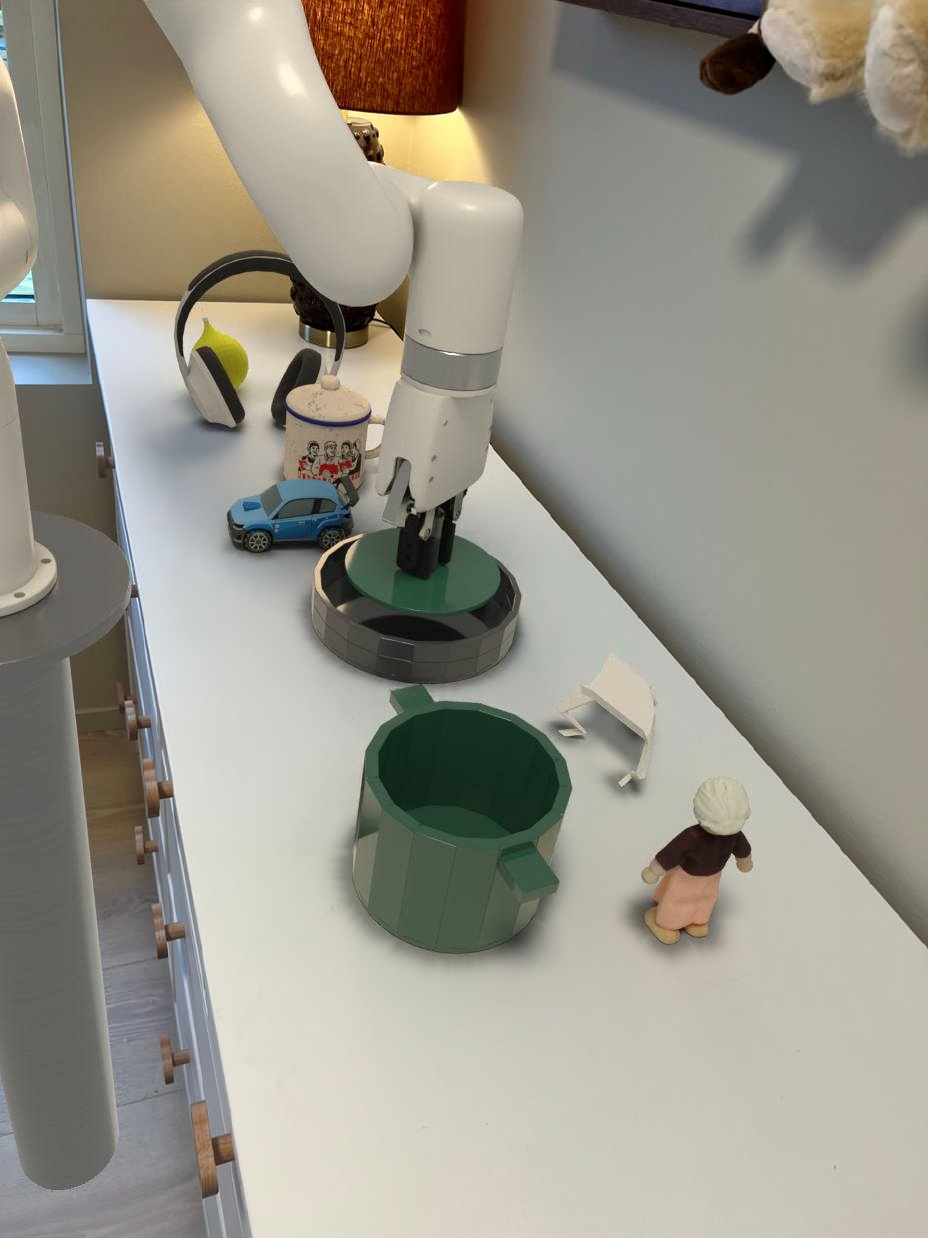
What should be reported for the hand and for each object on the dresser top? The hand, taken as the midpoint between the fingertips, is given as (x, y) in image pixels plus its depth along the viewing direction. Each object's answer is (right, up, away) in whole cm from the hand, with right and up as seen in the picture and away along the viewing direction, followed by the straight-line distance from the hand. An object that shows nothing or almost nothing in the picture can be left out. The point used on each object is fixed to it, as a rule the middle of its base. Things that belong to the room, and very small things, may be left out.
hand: (423, 562), depth 84 cm
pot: (+2, -22, -20) cm, 29 cm away
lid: (0, -1, 0) cm, 1 cm away
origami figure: (+15, -15, -7) cm, 22 cm away
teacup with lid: (-11, +11, +23) cm, 28 cm away
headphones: (-21, +18, +32) cm, 43 cm away
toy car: (-14, +3, +12) cm, 18 cm away
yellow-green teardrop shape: (-27, +24, +38) cm, 53 cm away
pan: (-1, -5, +3) cm, 6 cm away
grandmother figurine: (+17, -25, -20) cm, 37 cm away
